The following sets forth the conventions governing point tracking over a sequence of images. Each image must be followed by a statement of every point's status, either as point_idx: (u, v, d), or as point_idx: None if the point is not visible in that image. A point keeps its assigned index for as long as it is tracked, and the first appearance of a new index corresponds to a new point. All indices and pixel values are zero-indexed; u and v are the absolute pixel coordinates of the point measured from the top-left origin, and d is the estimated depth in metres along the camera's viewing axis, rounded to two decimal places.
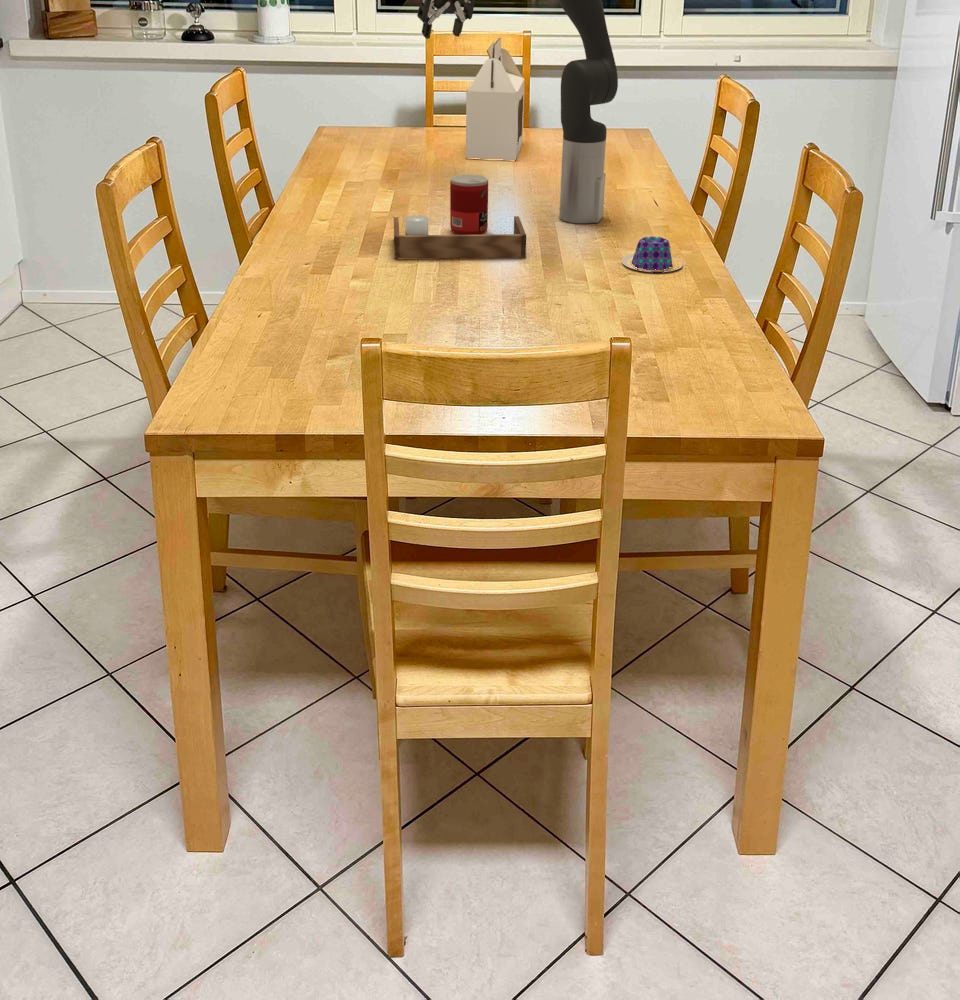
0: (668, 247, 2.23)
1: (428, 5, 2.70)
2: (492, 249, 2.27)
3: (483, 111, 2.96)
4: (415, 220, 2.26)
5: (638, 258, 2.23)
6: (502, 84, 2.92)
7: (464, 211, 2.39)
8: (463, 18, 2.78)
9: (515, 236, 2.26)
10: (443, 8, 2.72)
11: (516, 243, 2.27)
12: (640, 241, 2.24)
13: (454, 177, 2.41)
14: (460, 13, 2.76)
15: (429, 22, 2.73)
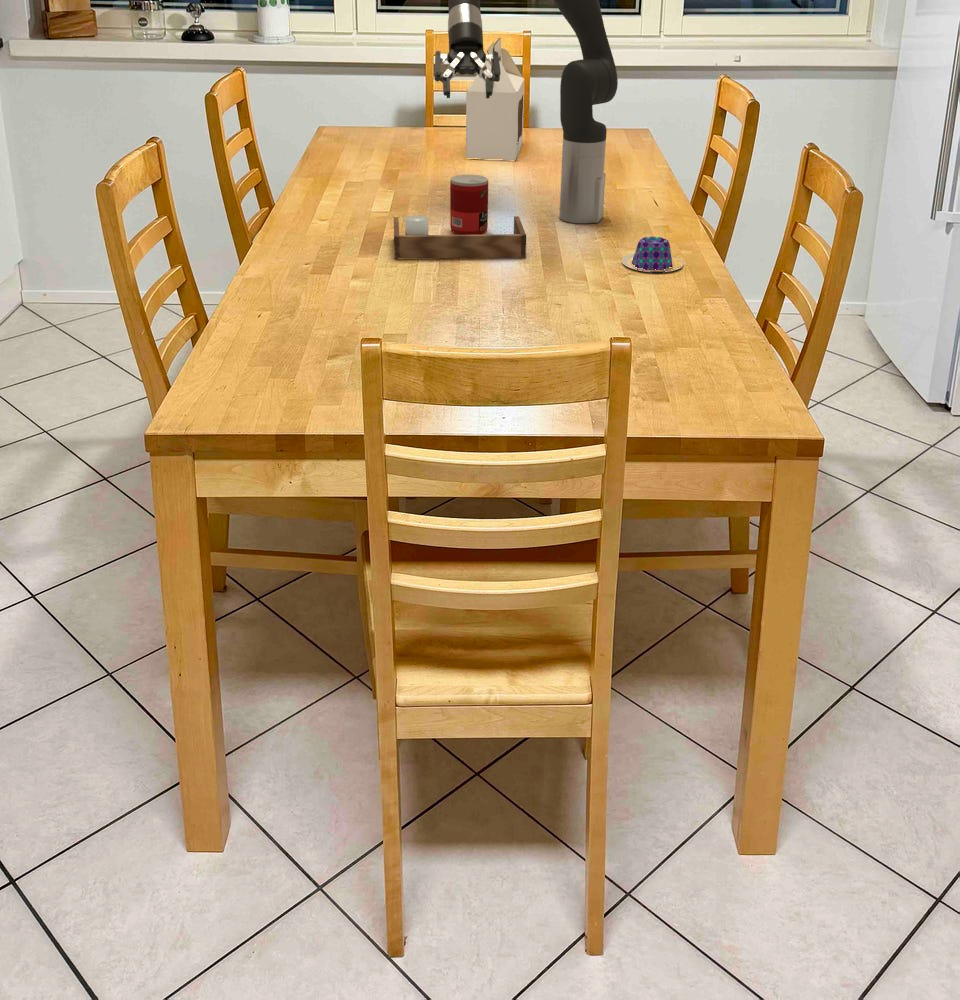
0: (668, 247, 2.23)
1: (438, 58, 2.48)
2: (492, 249, 2.27)
3: (483, 111, 2.96)
4: (415, 220, 2.26)
5: (638, 258, 2.23)
6: (502, 84, 2.92)
7: (464, 211, 2.39)
8: (489, 73, 2.48)
9: (515, 236, 2.26)
10: (457, 59, 2.47)
11: (516, 243, 2.27)
12: (640, 241, 2.23)
13: (454, 177, 2.41)
14: (482, 65, 2.47)
15: (444, 74, 2.47)
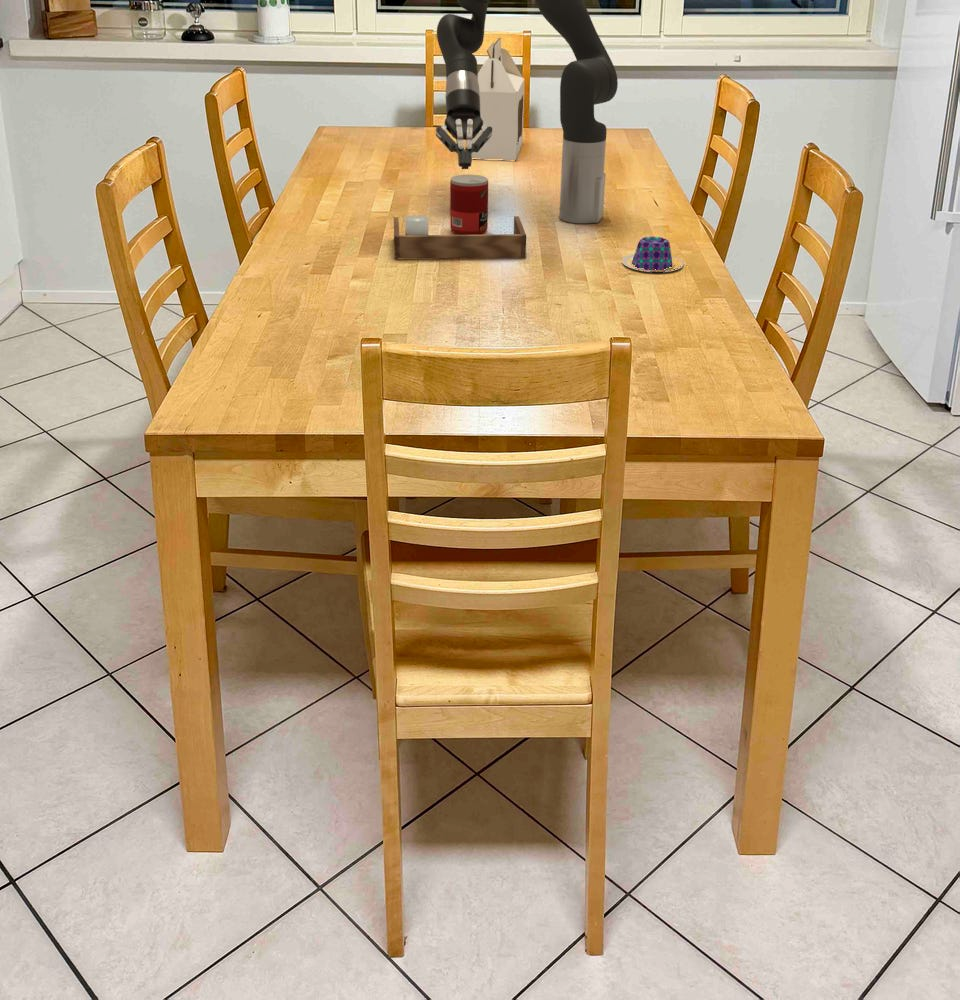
0: (668, 247, 2.23)
1: (443, 131, 2.50)
2: (492, 249, 2.27)
3: (483, 111, 2.96)
4: (415, 220, 2.26)
5: (638, 258, 2.23)
6: (502, 84, 2.92)
7: (464, 211, 2.39)
8: (468, 144, 2.49)
9: (515, 236, 2.26)
10: (459, 127, 2.50)
11: (516, 243, 2.27)
12: (640, 241, 2.23)
13: (454, 177, 2.41)
14: (468, 134, 2.50)
15: (460, 146, 2.49)
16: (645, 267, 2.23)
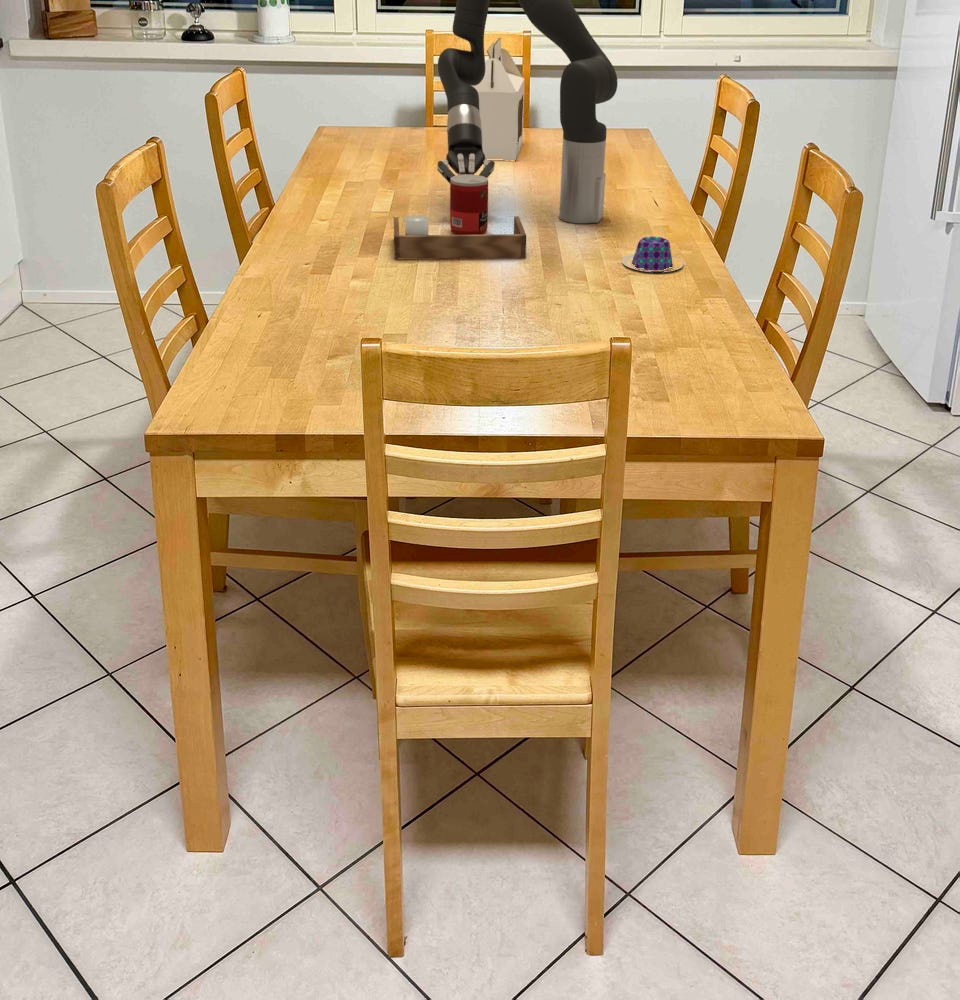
0: (668, 247, 2.23)
1: (444, 166, 2.47)
2: (492, 249, 2.27)
3: (483, 111, 2.96)
4: (415, 220, 2.26)
5: (639, 258, 2.23)
6: (502, 84, 2.92)
7: (464, 211, 2.39)
8: None
9: (515, 236, 2.26)
10: (461, 162, 2.47)
11: (516, 243, 2.27)
12: (640, 241, 2.23)
13: (454, 177, 2.41)
14: (470, 169, 2.46)
15: None
16: (645, 267, 2.23)
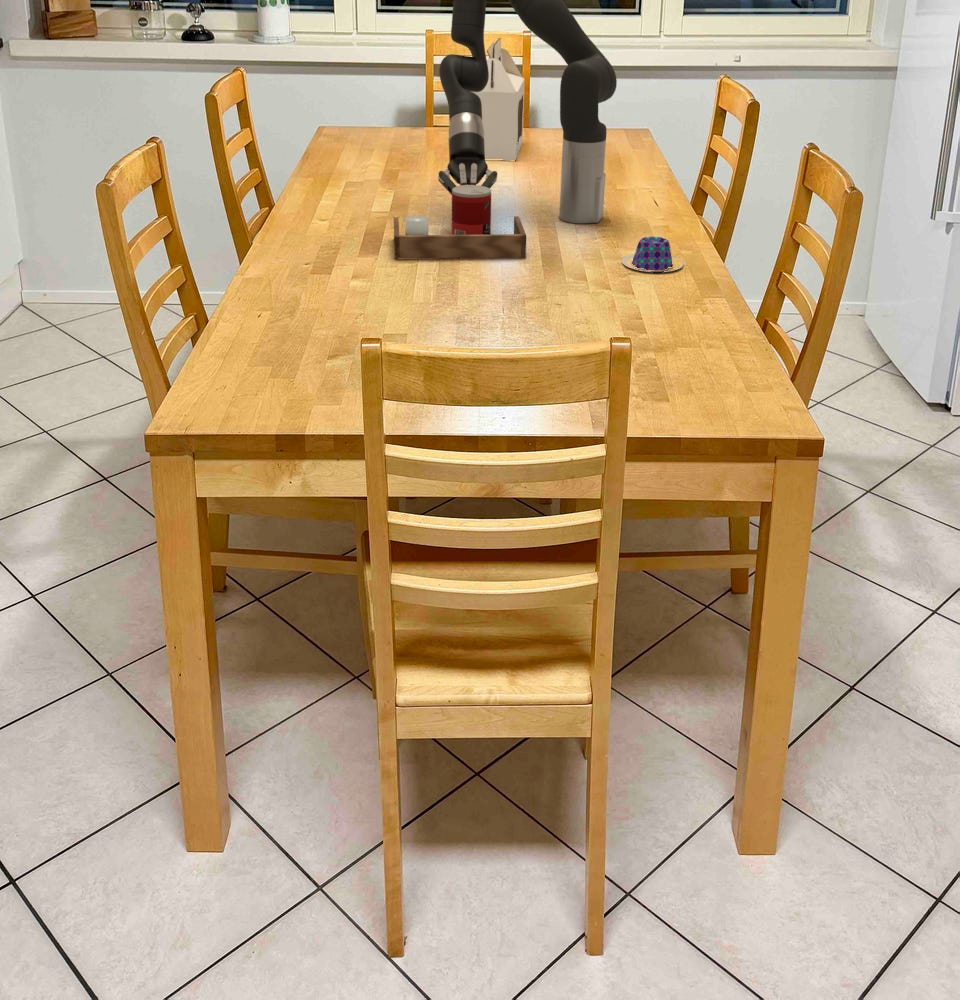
0: (669, 247, 2.23)
1: (446, 177, 2.39)
2: (492, 249, 2.27)
3: (483, 111, 2.96)
4: (415, 220, 2.26)
5: (639, 258, 2.23)
6: (502, 84, 2.92)
7: (468, 223, 2.31)
8: None
9: (515, 236, 2.26)
10: (462, 172, 2.39)
11: (516, 243, 2.27)
12: (640, 241, 2.23)
13: (455, 188, 2.33)
14: (472, 180, 2.39)
15: None
16: (646, 267, 2.23)
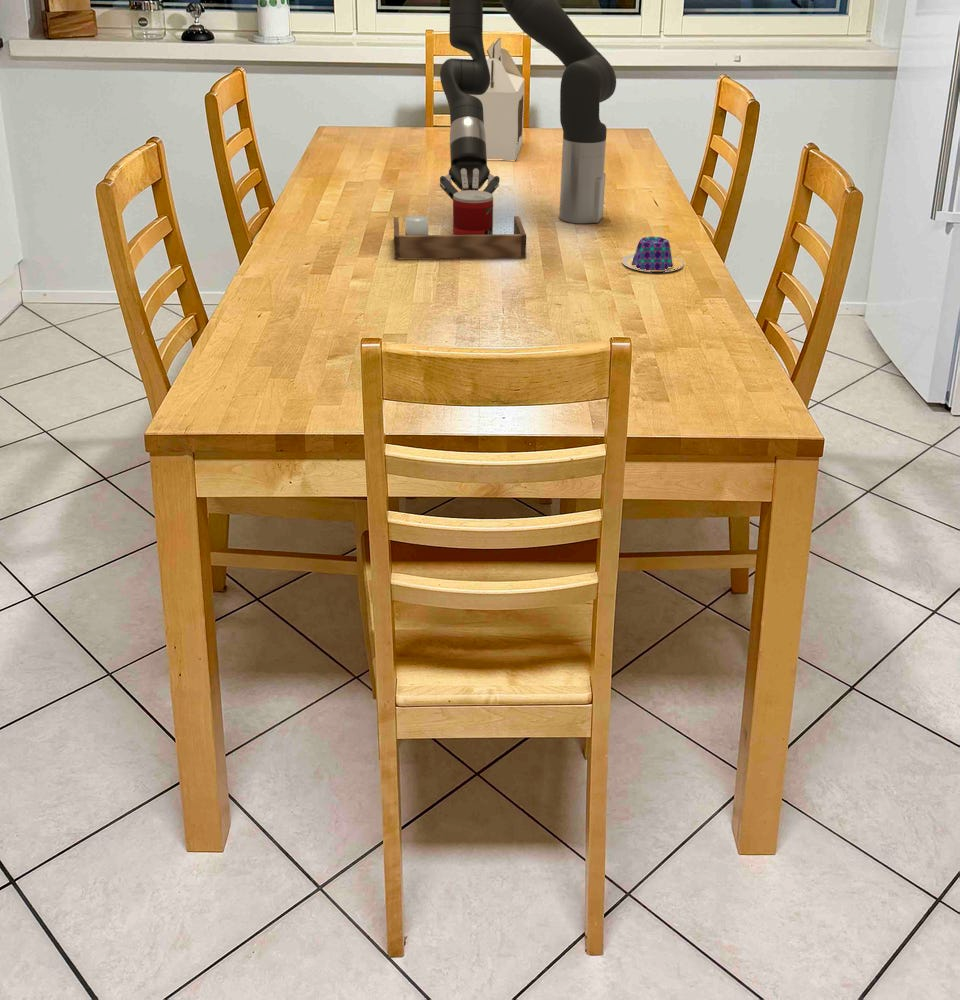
0: (669, 247, 2.23)
1: (447, 182, 2.35)
2: (492, 249, 2.27)
3: (483, 111, 2.96)
4: (415, 220, 2.26)
5: (639, 259, 2.23)
6: (502, 84, 2.92)
7: (469, 228, 2.27)
8: None
9: (515, 236, 2.26)
10: (464, 177, 2.35)
11: (516, 243, 2.27)
12: (640, 241, 2.23)
13: (457, 193, 2.29)
14: (474, 185, 2.35)
15: None
16: (646, 267, 2.23)
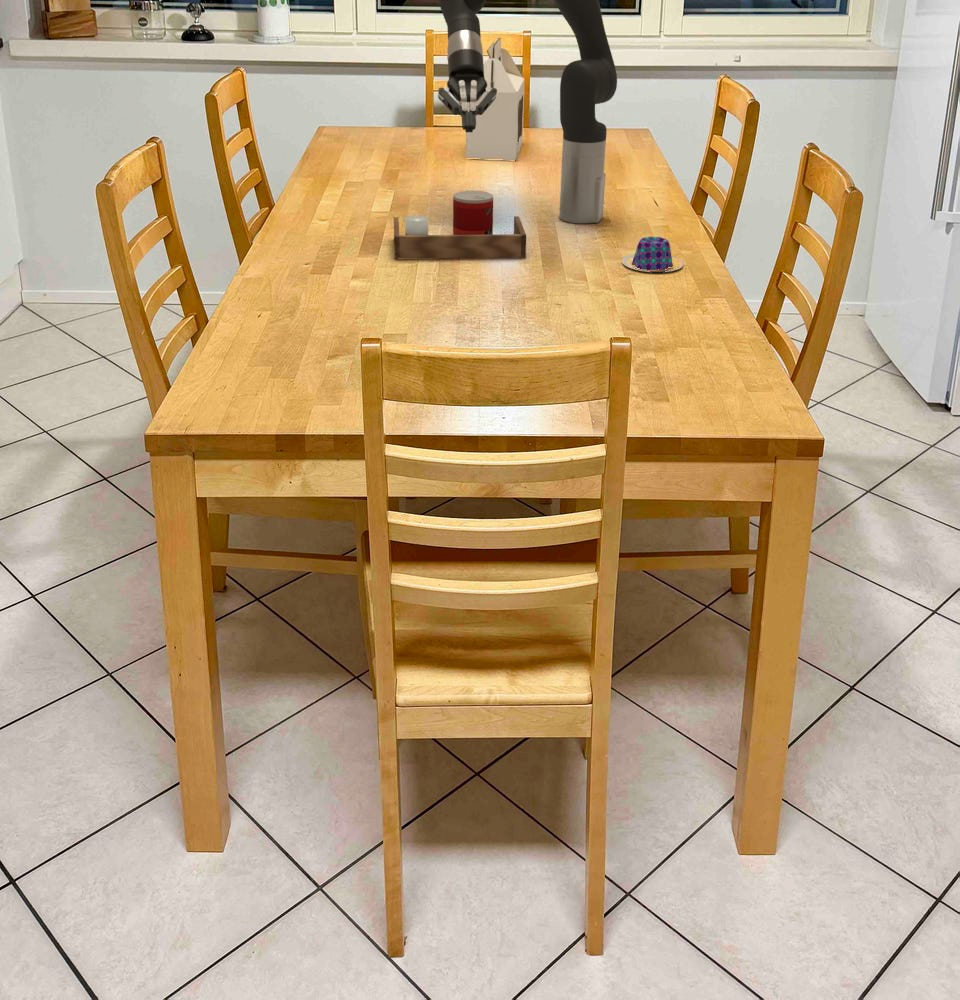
0: (669, 246, 2.23)
1: (446, 93, 2.40)
2: (492, 249, 2.27)
3: None
4: (415, 220, 2.26)
5: (640, 259, 2.23)
6: (502, 84, 2.92)
7: (469, 229, 2.27)
8: (472, 106, 2.40)
9: (515, 236, 2.26)
10: (462, 88, 2.40)
11: (516, 243, 2.27)
12: (641, 242, 2.23)
13: (457, 194, 2.29)
14: (472, 96, 2.40)
15: (463, 108, 2.39)
16: (648, 267, 2.23)
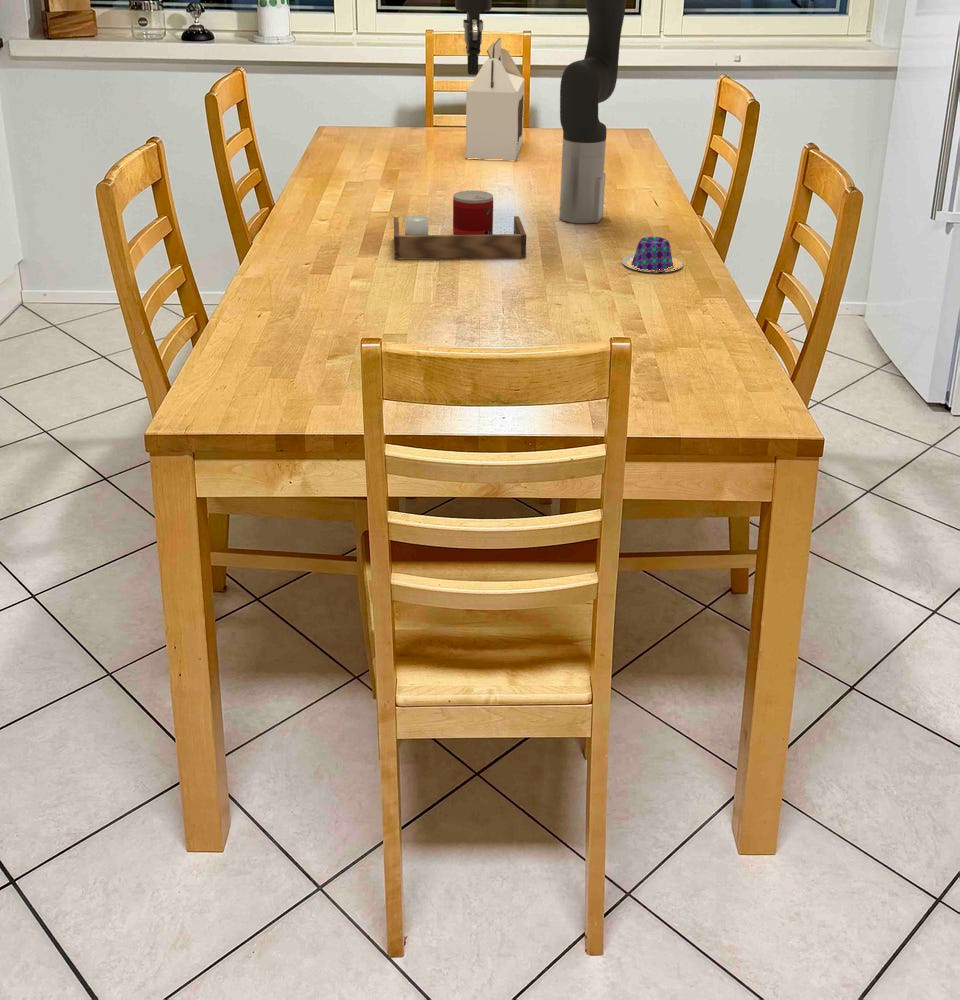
0: (669, 246, 2.23)
1: None
2: (492, 249, 2.27)
3: (483, 111, 2.96)
4: (415, 220, 2.26)
5: (641, 259, 2.23)
6: (502, 84, 2.92)
7: (469, 229, 2.27)
8: None
9: (515, 236, 2.26)
10: (481, 31, 2.41)
11: (516, 243, 2.27)
12: (641, 242, 2.23)
13: (457, 194, 2.29)
14: None
15: None
16: (649, 268, 2.22)
